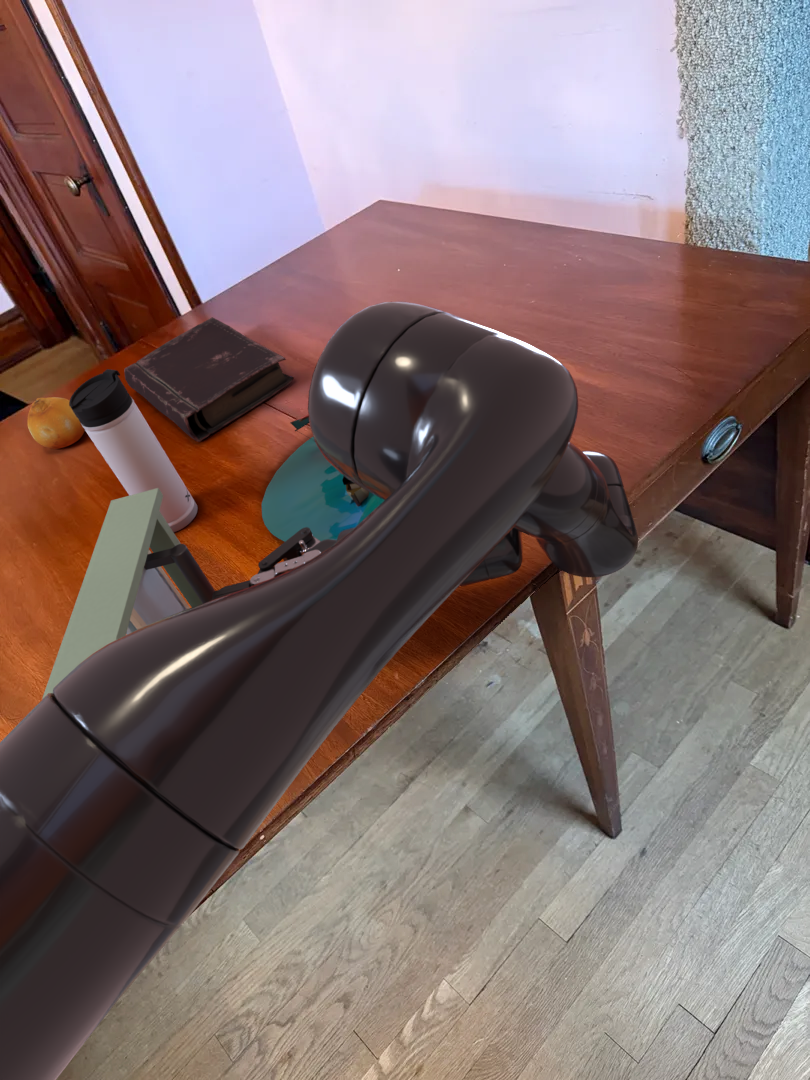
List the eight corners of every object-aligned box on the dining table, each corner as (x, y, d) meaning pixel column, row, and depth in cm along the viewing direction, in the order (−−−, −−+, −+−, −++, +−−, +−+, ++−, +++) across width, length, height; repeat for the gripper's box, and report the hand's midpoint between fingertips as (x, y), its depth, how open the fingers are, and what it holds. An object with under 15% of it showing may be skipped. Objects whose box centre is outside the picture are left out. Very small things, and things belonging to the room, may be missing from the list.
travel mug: (209, 504, 95) (130, 370, 82) (175, 539, 92) (86, 405, 78) (177, 495, 98) (96, 366, 85) (142, 529, 95) (53, 399, 82)
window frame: (240, 604, 80) (166, 485, 69) (216, 796, 64) (113, 682, 52) (185, 617, 81) (103, 502, 70) (147, 811, 64) (31, 701, 53)
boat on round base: (492, 393, 96) (469, 314, 90) (475, 537, 76) (443, 448, 69) (299, 435, 105) (265, 366, 99) (237, 573, 85) (188, 498, 78)
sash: (244, 619, 76) (181, 520, 67) (236, 683, 70) (166, 584, 61) (199, 630, 77) (131, 534, 68) (188, 694, 71) (111, 598, 62)
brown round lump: (27, 455, 113) (26, 405, 109) (28, 435, 119) (27, 387, 116) (86, 457, 116) (87, 408, 113) (84, 438, 123) (84, 391, 119)
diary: (195, 446, 106) (179, 418, 103) (134, 395, 123) (118, 369, 120) (300, 380, 112) (288, 351, 109) (228, 340, 129) (216, 314, 126)
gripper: (383, 481, 68) (205, 527, 70) (392, 586, 58) (185, 636, 60) (405, 539, 73) (238, 581, 75) (417, 644, 63) (225, 689, 65)
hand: (215, 605), depth 67 cm, fingers closed
